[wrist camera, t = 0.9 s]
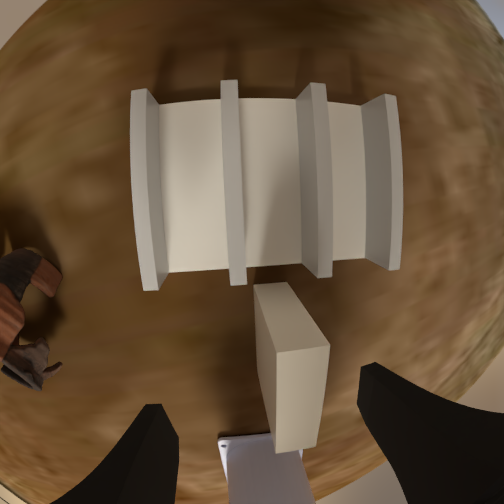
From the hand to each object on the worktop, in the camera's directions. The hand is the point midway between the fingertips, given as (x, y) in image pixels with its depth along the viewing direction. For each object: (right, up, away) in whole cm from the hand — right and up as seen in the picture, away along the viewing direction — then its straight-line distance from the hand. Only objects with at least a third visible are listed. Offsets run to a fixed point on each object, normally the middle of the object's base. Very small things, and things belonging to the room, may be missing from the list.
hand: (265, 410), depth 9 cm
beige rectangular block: (+1, 0, +10) cm, 10 cm away
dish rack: (0, +10, +8) cm, 13 cm away
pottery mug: (-19, +2, +8) cm, 21 cm away
